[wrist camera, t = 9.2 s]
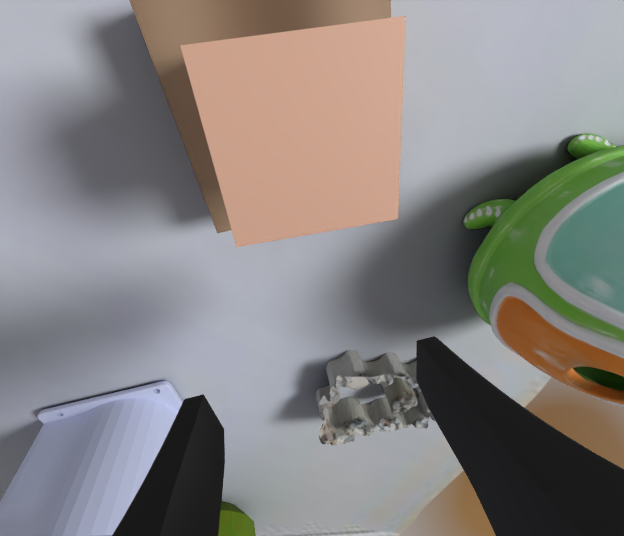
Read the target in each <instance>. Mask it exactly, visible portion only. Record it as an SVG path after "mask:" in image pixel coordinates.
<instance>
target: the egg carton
mask: <svg viewBox="0 0 624 536" xmlns="http://www.w3.org/2000/svg"><path fill="white" fill-rule="evenodd" d="M416 361H417V360H416ZM416 361H414V362H412V363H409V364H401V362H400V360H399V358H398V356H397V354H396V353H385V354H384V355H383V356H382V357H381V358H379V359H378V360H376V361H373V362H364V361H362V360H361V357H360V355H359V352H358V351H346V352H345V354H344V355H343V356H342V357H340V358H338V359H335V360H331V361H329V362H328V364H327V366H326V372H327V376H328V380H329V384H330V385H328V386H326V387H322V388H318V390H317V392H316V395H315V396H316V400H317V405H318V410H319V412H320V418H322V419H323V420H324V424H323V425H322V428H321V429H320V435H319V439H320V441H321V443H322V444H326V443H330V444H331V445H337V444H338V443H343V444H345V443H347V442H350V441H353V442H354V438H355V435H356V434H358V435H364V436H369V435H370V434H371V432H377V431H383V432H390V431H394V430H398V429H401V428H402V427H404V428H406V427H408V426H409V425H410V424H413V425H414V426H415V428H426V429H427V427H428V420H429V419H430V418H432V420H434V421H436V420H435V419H434V417H433V415H432V413H431V411H430V410H429V408H428V405H427V403H426V401H425V399H424V396H423V394H422V392H421V389H420V387H419V385H418V382H417V380H416ZM369 383H370V384H378V383H380V384H381V385H382V387H383V390H384V392H385V395H386V397H384V398H379V399H376V400H375V401H373V402H372V403H371V404H362V405H361V404H360V401H359V400H358V399H357V398H355V397H346V398H343V399H341V400H340V396H341V395H340V391H339V388H340V387H341V386H342V387H347V386H348V387H349V388H352V389H360V388H363V387H365V386H367V385H368V384H369ZM412 388H416V390H417V392H418V394H419V396H418V397H417V398H416V394H415V392H414V391H413V389H412ZM339 400H340V401H339Z"/></svg>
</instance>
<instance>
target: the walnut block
mask: <svg viewBox="0 0 624 536" xmlns="http://www.w3.org/2000/svg"><path fill="white" fill-rule="evenodd" d="M130 3H131V6H132V8H133V11H134V14H135V16H136V19H137V22H138V24H139V27H140V30H141V32H142V35H143V37H144V40H145V43H146V45H147V48H148V51H149V53H150V56H151V59H152V61H153V64H154V67H155V69H156V72H157V75H158V77H159V80H160V82H161V85H162V88H163V90H164V93H165V96H166V98H167V101H168V104H169V106H170V109H171V112H172V114H173V117H174V120H175V122H176V125H177V127H178V130H179V133H180V135H181V138H182V141H183V143H184V146H185V149H186V151H187V154H188V157H189V159H190V162H191V165H192V167H193V170H194V172H195V175H196V178H197V180H198V183H199V186H200V188H201V191H202V194H203V196H204V199H205V202H206V204H207V207H208V210H209V212H210V215H211V217H212V220H213V223H214V225H215V228H216V231H217V233H220V232H225V231H229V230H232V229H231V225H230V222H229V218H228V215H227V211H226V208H225V204H224V200H223V197H222V193H221V190H220V186H219V182H218V179H217V175H216V172H215V168H214V165H213V161H212V157H211V154H210V150H209V147H208V143H207V140H206V136H205V132H204V129H203V125H202V122H201V118H200V114H199V111H198V107H197V104H196V100H195V97H194V93H193V89H192V86H191V82H190V79H189V75H188V72H187V68H186V64H185V61H184V57H183V54H182V50H181V47H180V45H187V44H195V43H202V42H210V41H218V40H225V39H233V38H241V37H248V36H256V35H263V34H271V33H279V32H286V31H294V30H302V29H309V28H317V27H325V26H332V25H340V24H347V23H355V22H363V21H370V20H378V19H386V18H391V0H130Z"/></svg>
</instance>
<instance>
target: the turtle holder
mask: <svg viewBox="0 0 624 536" xmlns="http://www.w3.org/2000/svg"><path fill="white" fill-rule="evenodd" d="M568 152H569V153H570V154H571V155H572V156H573V157H575V158H577V159H578V160H576V161H573V162H571V163H569V164H567V165H565V166H564V167H562V168H560V169H558V170H556V171H554V172H553V173H551V174H549V175H548V176H546V177H545V178H543V179H542V180H540V181H539V182H538V183H536V184H535V185H534V186H533V187H531V188H530V189H529V190H528V191H526V192H525V193H524V194H523V195H522V196H521V197H520V198H519V199H518V200H516V201H514V200H511V199H496V200H490V201H486V202H483V203H481V204H480V205H478V206H476V207H475V208H473V209H472V210H470V211H469V212H468V213H467V215H466V216H465V218H464V220H463V224H464V226H465V227H466V228H467V229H480V228H485V227H490V226H491V227H492V228H491V230H490V231H489V233H488V234H487V236H486V238H485V239H484V241H483V242H482V244H481V245H480V247H479V248H478V250H477V252H476V253H475V255H474V257H473V260H472V262H471V265H470V269H469V273H468V290H469V295H470V298H471V301H472V303H473V306H474V308H475V310H476V311H477V313H478V314H479V316H480V317H481V318H482V319H483V320H484V321H485V322H486V323H488V324H489V325H491V327H492V330H493V332H494V334H495V336H496V337H497V338H498V340H499V341H500V342H501V343H502V344H503V345H505V346H506V347H507V348H508V349H510V350H511V351H513V352H514V353H516V354H518V355H520V356H521V357H523V358H524V359H525V360H527V361H528V362H529V363H531V364H532V365H533V366H535V367H536V368H538V369H540V370H541V371H543V372H544V373H546V374H548V375H550V376H551V377H553V378H555V379H557V380H559V381H561V382H563V383H565V384H566V385H569V386H571V387H573V388H575V389H577V390H580V391H582V392H585V393H587V394H589V395H591V396H593V397H596V398H598V399H601V400H603V401H606V402H608V403H611V404H614V405H617V406H620V407H624V145H622V146H615V145H614V144H612V143H611V142H609V141H608V140H606V139H604V138H602V137H600V136H598V135H594V134H581V135H579V136H577V137H575V138H574V139H572V140H571V142H570V143H569V144H568Z"/></svg>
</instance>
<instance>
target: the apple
mask: <svg viewBox="0 0 624 536" xmlns="http://www.w3.org/2000/svg"><path fill="white" fill-rule="evenodd" d="M218 536H256V535H255V528H254V522H253V521H252V520H251V519H250V518H249V517H248V516H247V515H246V514H245V513H244V512H242V511H241V510H240V509H238V508H237V507H236V506H235V505H232V504H229V503H226V502H221V511H220V522H219V533H218Z"/></svg>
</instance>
